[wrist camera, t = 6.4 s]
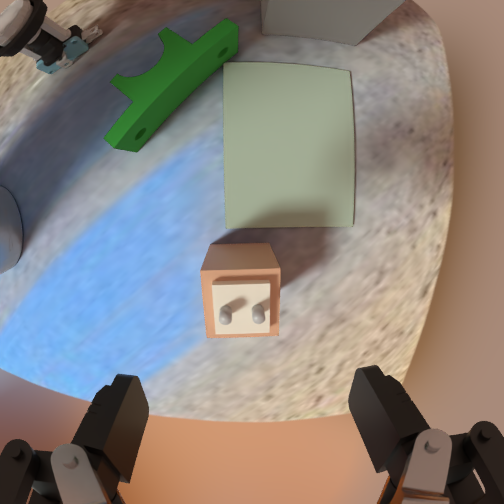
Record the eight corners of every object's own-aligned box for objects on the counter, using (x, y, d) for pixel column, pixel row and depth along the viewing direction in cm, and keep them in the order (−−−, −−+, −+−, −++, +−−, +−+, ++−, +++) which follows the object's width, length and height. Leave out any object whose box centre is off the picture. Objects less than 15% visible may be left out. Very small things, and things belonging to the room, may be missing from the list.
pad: (225, 227, 21) (225, 228, 20) (223, 64, 17) (223, 62, 17) (351, 226, 21) (352, 226, 21) (348, 72, 17) (349, 71, 17)
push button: (102, 16, 14) (52, -34, 5) (107, 54, 16) (46, 5, 6) (47, 51, 14) (-14, 22, 5) (49, 90, 16) (-23, 68, 6)
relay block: (213, 297, 22) (204, 352, 15) (210, 244, 21) (196, 281, 14) (268, 295, 22) (282, 350, 15) (268, 242, 21) (285, 278, 14)
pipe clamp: (205, 30, 16) (199, 1, 12) (238, 53, 17) (239, 25, 13) (108, 126, 18) (80, 117, 13) (137, 153, 19) (113, 148, 14)
